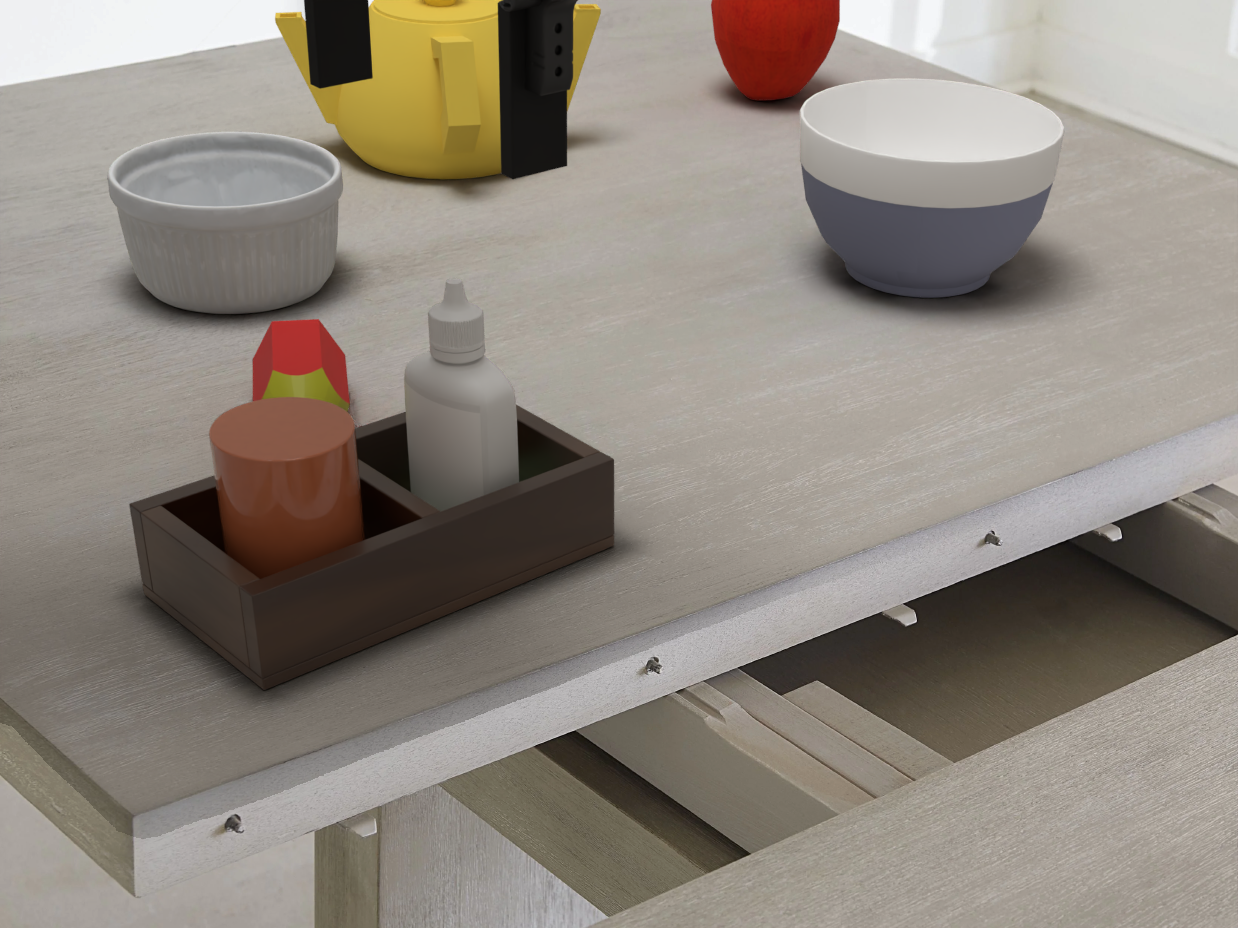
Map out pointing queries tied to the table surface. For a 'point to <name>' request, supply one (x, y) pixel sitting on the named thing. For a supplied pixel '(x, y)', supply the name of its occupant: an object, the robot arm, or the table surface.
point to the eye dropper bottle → (458, 409)
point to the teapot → (427, 86)
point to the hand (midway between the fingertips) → (433, 124)
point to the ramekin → (229, 219)
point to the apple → (774, 43)
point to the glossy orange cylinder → (286, 482)
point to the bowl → (926, 179)
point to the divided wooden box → (375, 553)
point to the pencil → (300, 364)
